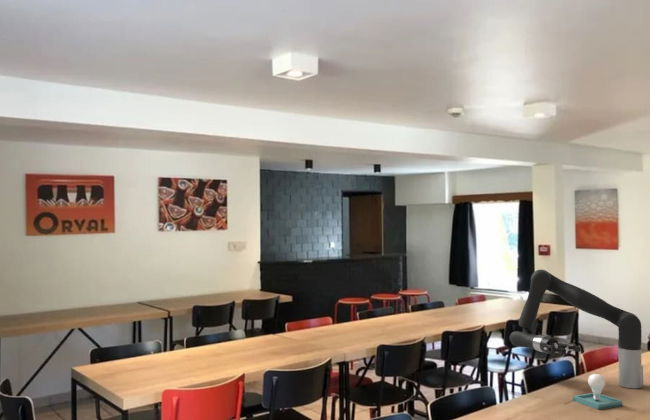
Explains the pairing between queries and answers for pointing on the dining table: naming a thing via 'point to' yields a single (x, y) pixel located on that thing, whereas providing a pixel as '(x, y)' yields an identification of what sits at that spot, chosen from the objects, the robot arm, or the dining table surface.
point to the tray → (601, 404)
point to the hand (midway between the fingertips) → (572, 350)
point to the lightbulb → (596, 385)
